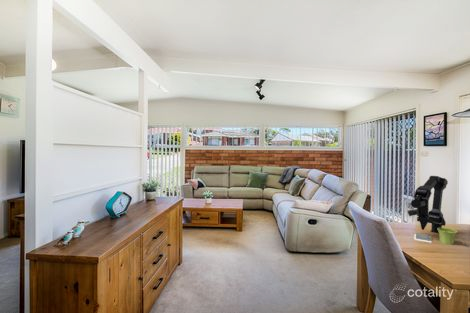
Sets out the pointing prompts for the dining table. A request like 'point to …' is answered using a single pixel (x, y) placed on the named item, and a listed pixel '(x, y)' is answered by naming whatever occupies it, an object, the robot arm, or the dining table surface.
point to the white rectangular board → (422, 240)
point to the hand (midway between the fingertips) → (422, 229)
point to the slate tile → (422, 237)
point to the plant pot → (446, 235)
